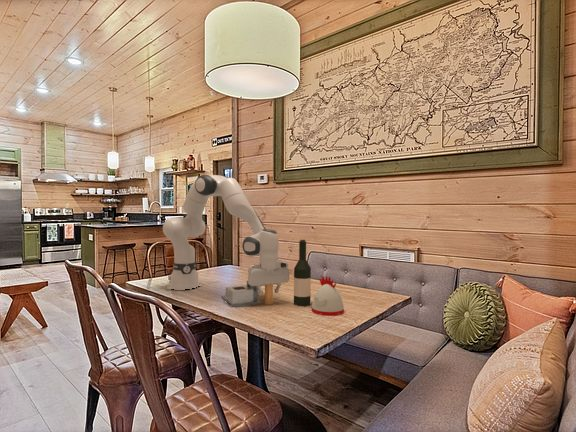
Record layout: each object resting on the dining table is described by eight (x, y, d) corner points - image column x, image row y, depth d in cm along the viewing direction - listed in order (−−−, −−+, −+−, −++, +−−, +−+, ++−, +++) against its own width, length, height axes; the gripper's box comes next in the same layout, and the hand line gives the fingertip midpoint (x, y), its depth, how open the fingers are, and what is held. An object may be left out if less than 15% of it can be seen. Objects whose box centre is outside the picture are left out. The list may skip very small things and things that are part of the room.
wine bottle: (290, 304, 159) (290, 240, 159) (298, 300, 166) (298, 238, 166) (306, 307, 155) (307, 240, 155) (313, 302, 162) (314, 239, 162)
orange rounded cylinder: (263, 303, 161) (263, 282, 161) (270, 302, 163) (270, 281, 162) (266, 305, 158) (267, 283, 158) (273, 304, 159) (274, 282, 159)
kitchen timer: (323, 305, 159) (323, 272, 159) (349, 310, 150) (349, 276, 150) (305, 311, 148) (305, 277, 148) (332, 318, 140) (333, 281, 139)
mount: (221, 298, 169) (221, 279, 169) (245, 295, 175) (245, 277, 175) (233, 307, 153) (233, 286, 153) (260, 304, 159) (260, 283, 159)
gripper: (250, 266, 152) (250, 297, 152) (291, 263, 162) (290, 292, 162) (245, 264, 158) (245, 294, 158) (284, 261, 167) (284, 290, 168)
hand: (268, 293), depth 160 cm, fingers open, 7 cm apart
